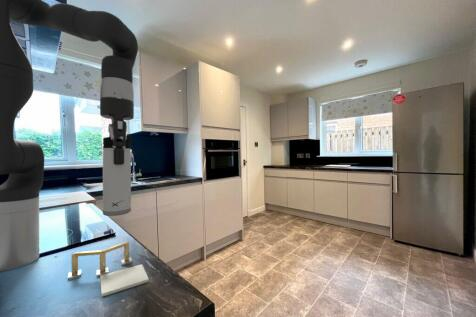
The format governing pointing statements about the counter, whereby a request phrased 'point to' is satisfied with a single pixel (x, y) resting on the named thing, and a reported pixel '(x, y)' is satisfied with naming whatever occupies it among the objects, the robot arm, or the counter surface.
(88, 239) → the counter surface
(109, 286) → the coaster
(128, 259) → the gold barrier railing
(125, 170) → the travel mug
